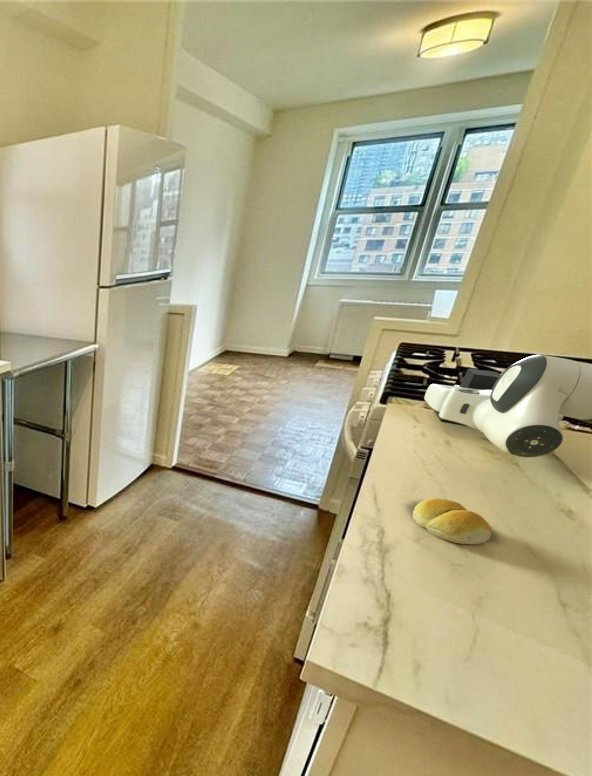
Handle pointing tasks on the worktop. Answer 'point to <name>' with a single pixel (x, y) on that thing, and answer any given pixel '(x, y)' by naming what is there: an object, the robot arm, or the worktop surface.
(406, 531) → the worktop surface
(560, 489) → the worktop surface
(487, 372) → the dark grey block
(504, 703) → the worktop surface
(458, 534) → the bread roll
